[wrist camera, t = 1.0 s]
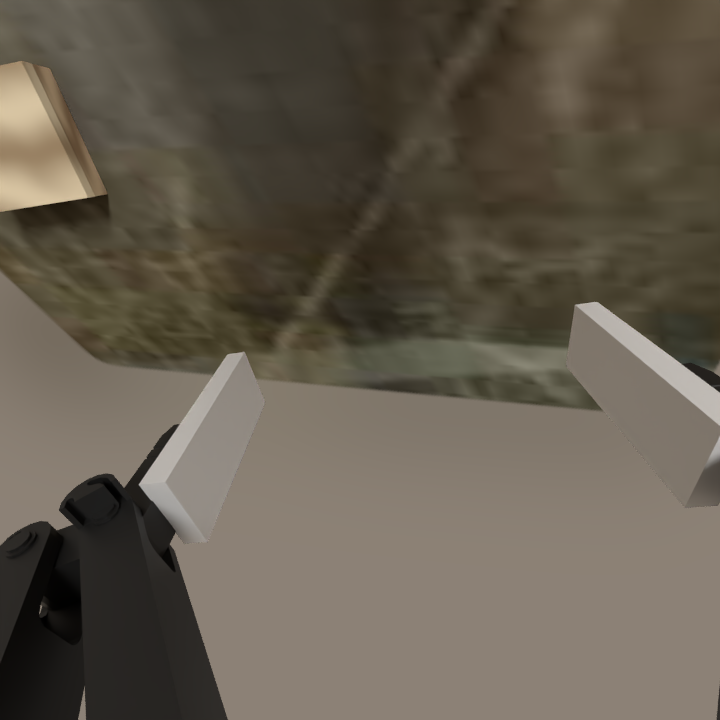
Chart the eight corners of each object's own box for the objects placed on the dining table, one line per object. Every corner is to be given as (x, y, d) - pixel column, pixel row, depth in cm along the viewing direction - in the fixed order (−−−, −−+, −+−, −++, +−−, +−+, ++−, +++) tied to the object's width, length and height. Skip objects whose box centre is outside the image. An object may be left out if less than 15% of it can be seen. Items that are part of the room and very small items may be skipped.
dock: (-50, 88, 32) (-88, 83, 29) (50, 68, 30) (21, 61, 28) (20, 208, 37) (-7, 212, 34) (108, 194, 36) (88, 197, 33)
